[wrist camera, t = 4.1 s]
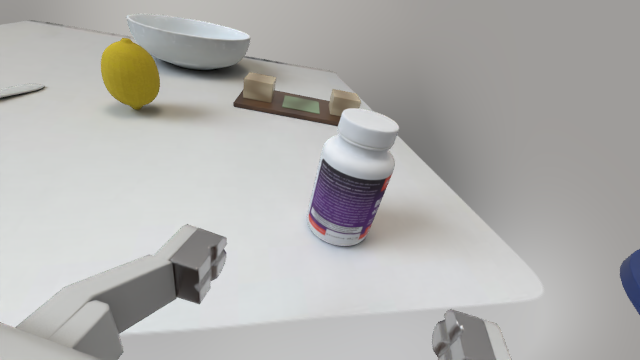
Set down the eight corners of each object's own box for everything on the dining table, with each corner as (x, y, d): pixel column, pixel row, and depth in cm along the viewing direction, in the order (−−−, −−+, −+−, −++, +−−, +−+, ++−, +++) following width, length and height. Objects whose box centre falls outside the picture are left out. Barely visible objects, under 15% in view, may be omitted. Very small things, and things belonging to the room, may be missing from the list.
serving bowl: (249, 61, 67) (251, 29, 63) (245, 87, 50) (248, 46, 46) (152, 44, 61) (148, 8, 58) (111, 67, 44) (102, 18, 41)
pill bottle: (373, 251, 22) (422, 142, 17) (307, 245, 21) (337, 128, 16) (359, 207, 27) (395, 111, 21) (304, 201, 26) (327, 98, 20)
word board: (354, 109, 52) (359, 90, 50) (362, 130, 44) (369, 108, 42) (246, 88, 50) (247, 67, 48) (233, 106, 41) (234, 81, 39)
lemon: (167, 104, 37) (160, 38, 33) (156, 120, 33) (147, 47, 28) (118, 98, 35) (105, 29, 31) (101, 115, 31) (82, 37, 27)
